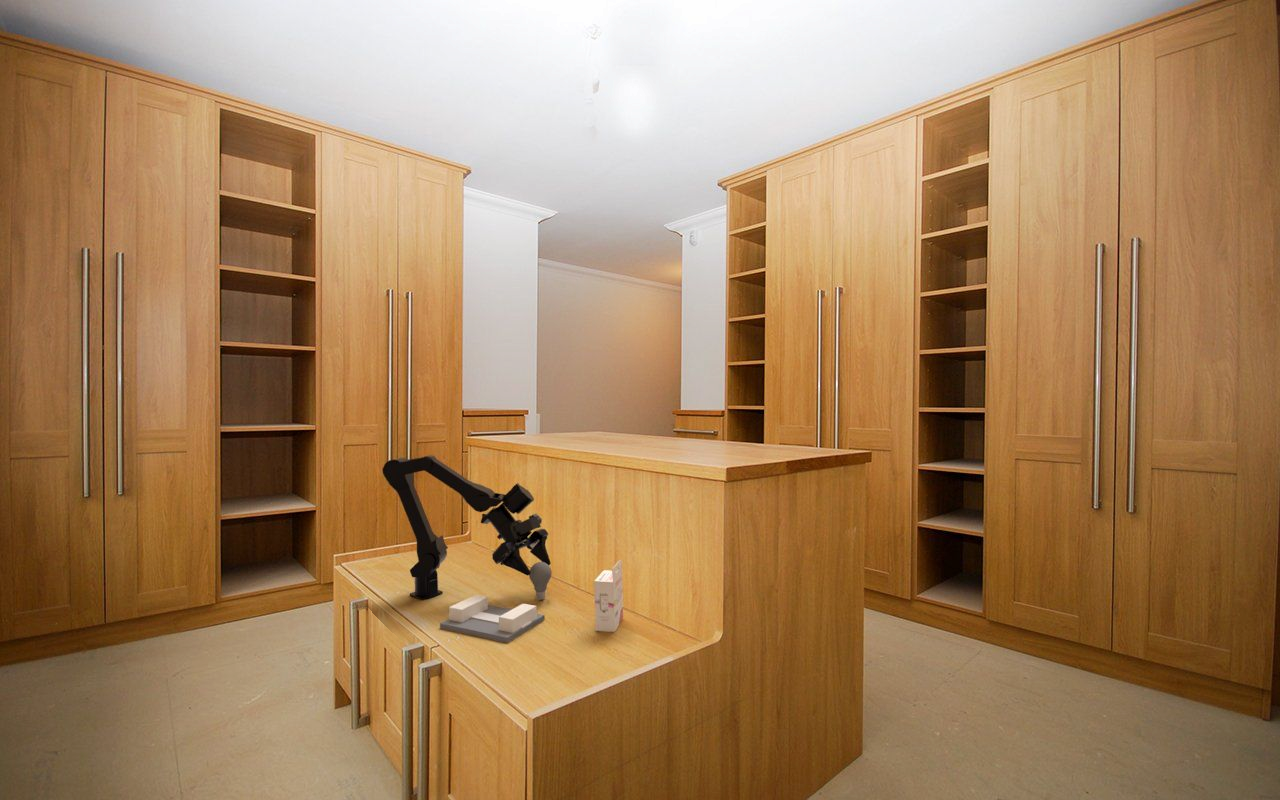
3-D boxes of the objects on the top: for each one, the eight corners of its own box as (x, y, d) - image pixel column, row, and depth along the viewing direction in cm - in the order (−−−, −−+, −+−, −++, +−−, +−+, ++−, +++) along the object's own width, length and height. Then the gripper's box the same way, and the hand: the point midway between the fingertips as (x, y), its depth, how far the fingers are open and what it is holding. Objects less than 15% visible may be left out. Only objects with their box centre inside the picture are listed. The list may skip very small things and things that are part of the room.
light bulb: (530, 596, 151) (530, 559, 151) (552, 595, 152) (552, 558, 152) (528, 604, 145) (527, 566, 145) (551, 603, 146) (550, 565, 146)
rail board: (440, 628, 130) (439, 610, 130) (480, 607, 143) (480, 591, 143) (507, 643, 122) (507, 624, 122) (544, 619, 135) (544, 602, 135)
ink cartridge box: (603, 617, 136) (603, 557, 136) (623, 618, 135) (622, 558, 135) (594, 631, 128) (593, 567, 128) (614, 632, 127) (614, 568, 127)
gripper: (500, 512, 143) (536, 559, 138) (542, 500, 160) (575, 541, 155) (477, 540, 146) (511, 587, 141) (520, 525, 163) (552, 566, 158)
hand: (539, 569), depth 149 cm, fingers open, 9 cm apart
